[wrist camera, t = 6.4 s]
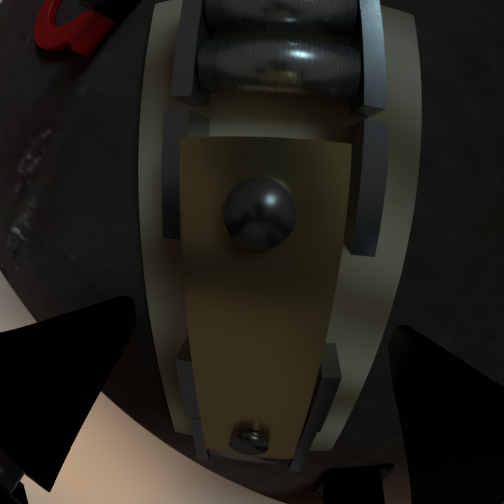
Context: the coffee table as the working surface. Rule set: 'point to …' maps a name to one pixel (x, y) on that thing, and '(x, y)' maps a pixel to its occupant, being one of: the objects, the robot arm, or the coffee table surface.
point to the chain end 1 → (285, 87)
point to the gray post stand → (79, 25)
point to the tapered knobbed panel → (259, 280)
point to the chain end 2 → (313, 423)
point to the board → (285, 126)
